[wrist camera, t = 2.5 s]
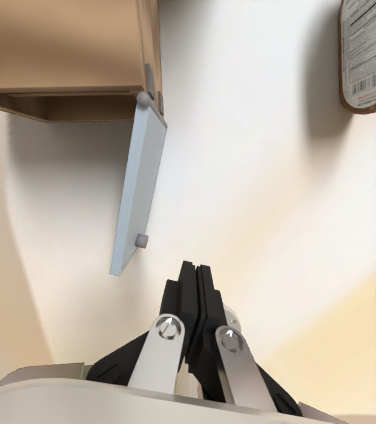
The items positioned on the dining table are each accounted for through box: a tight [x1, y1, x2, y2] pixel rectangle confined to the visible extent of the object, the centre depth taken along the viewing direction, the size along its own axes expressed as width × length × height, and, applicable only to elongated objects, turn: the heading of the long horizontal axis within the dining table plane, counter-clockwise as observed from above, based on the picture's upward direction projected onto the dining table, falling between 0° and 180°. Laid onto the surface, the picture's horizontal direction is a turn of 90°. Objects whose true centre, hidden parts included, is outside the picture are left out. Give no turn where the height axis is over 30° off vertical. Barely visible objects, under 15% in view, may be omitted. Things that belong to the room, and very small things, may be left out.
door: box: [109, 92, 167, 276], centre depth 21 cm, size 2×16×11 cm, turn 166°
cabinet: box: [0, 0, 164, 123], centre depth 17 cm, size 16×16×12 cm
